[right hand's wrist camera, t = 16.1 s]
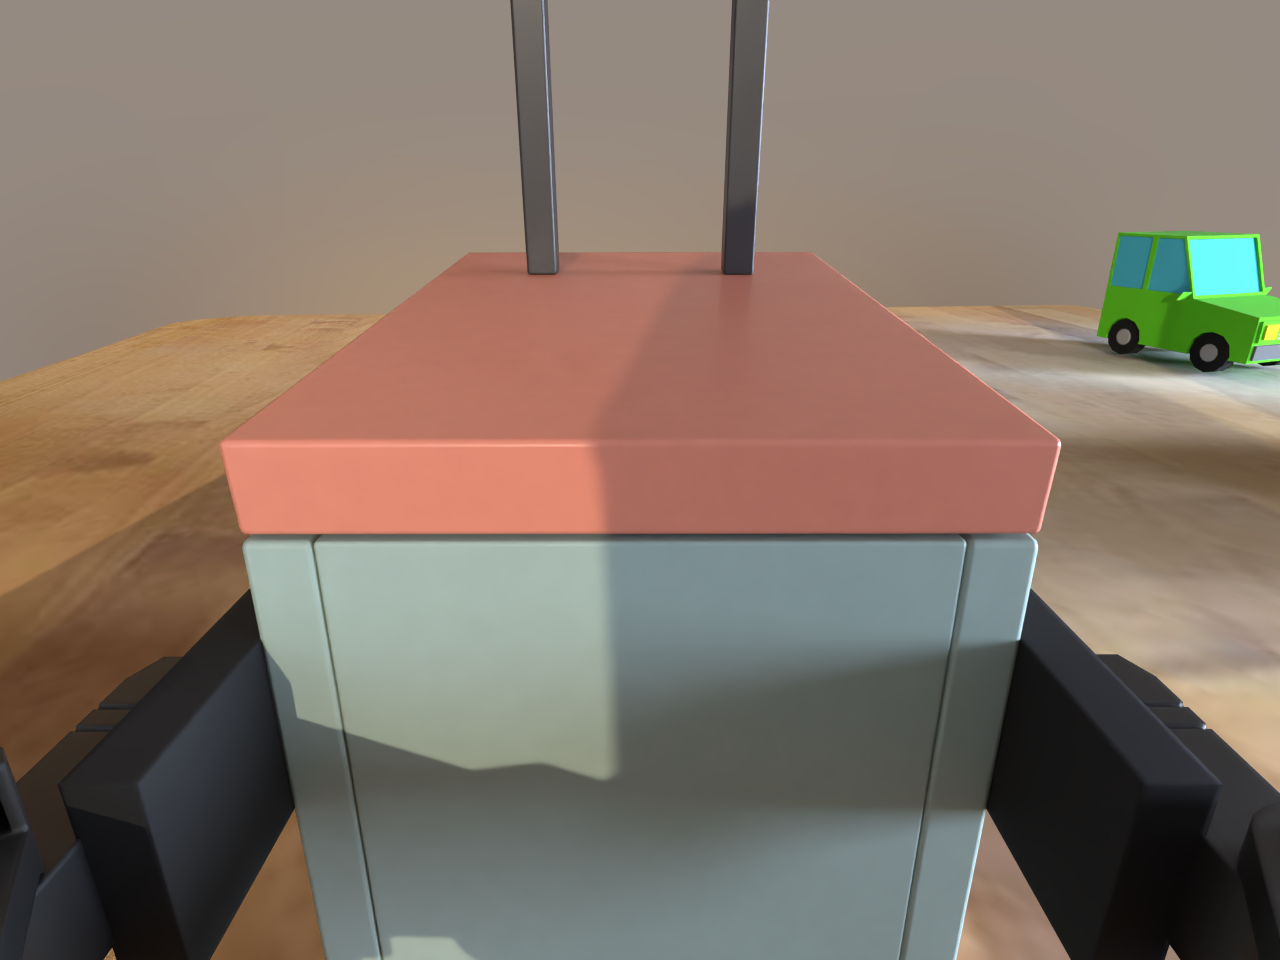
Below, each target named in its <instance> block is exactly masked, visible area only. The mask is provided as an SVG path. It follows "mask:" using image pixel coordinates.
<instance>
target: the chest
mask: <svg viewBox="0 0 1280 960" xmlns="http://www.w3.org/2000/svg"><path fill="white" fill-rule="evenodd" d="M242 550H243V554H244V559H245V564H246V569H247V574H248V579H249V584H250V589H251V594H252V599H253V604H254V609H255V614H256V619H257V623H258V628H259V633H260V638H261V643H262V648H263V653H264V658H265V663H266V668H267V673H268V678H269V683H270V688H271V692H272V697H273V702H274V707H275V712H276V717H277V722H278V727H279V732H280V737H281V742H282V747H283V752H284V756H285V761H286V766H287V771H288V776H289V781H290V786H291V791H292V796H293V801H294V806H295V811H296V816H297V821H298V825H299V830H300V835H301V840H302V845H303V850H304V855H305V860H306V865H307V870H308V875H309V880H310V885H311V889H312V894H313V899H314V904H315V909H316V914H317V919H318V924H319V929H320V934H321V939H322V944H323V949H324V954H325V958H326V960H956V957H957V952H958V947H959V942H960V937H961V932H962V927H963V922H964V917H965V912H966V907H967V902H968V897H969V892H970V887H971V882H972V877H973V872H974V867H975V862H976V857H977V852H978V847H979V842H980V837H981V832H982V827H983V822H984V817H985V812H986V807H987V802H988V797H989V792H990V787H991V782H992V777H993V772H994V767H995V762H996V757H997V752H998V747H999V742H1000V737H1001V732H1002V727H1003V722H1004V717H1005V712H1006V707H1007V702H1008V697H1009V692H1010V687H1011V682H1012V677H1013V672H1014V667H1015V662H1016V657H1017V652H1018V647H1019V642H1020V637H1021V632H1022V627H1023V622H1024V617H1025V612H1026V607H1027V602H1028V597H1029V592H1030V587H1031V582H1032V577H1033V572H1034V567H1035V562H1036V557H1037V552H1038V544H1037V541H1036V540H1035V539H1034V538H1033V537H1032V536H1030V535H1029V534H1028V533H944V534H252V535H251V536H250V537H249V538H248V539H246V540H245V541H244V543H243V549H242Z"/></svg>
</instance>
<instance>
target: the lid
mask: <svg viewBox="0 0 1280 960" xmlns="http://www.w3.org/2000/svg"><path fill="white" fill-rule="evenodd" d="M510 2H511V18H512V34H513V50H514V66H515V82H516V98H517V114H518V130H519V146H520V162H521V178H522V194H523V211H524V227H525V243H526V253H468V254H467V255H465V256H464V257H463V258H461V259H460V260H459V261H457V262H456V263H455V264H453V265H452V266H451V267H450V268H448V269H447V270H446V271H444V272H443V273H442V274H440V275H439V276H438V277H436V278H435V279H434V280H432V281H431V282H430V283H428V284H427V285H426V286H424V287H423V288H422V289H420V290H419V291H418V292H417V293H415V294H414V295H412V296H411V297H410V298H409V299H407V300H406V301H405V302H403V303H402V304H401V305H399V306H398V307H397V308H395V309H394V310H393V311H391V312H390V313H389V314H387V315H386V316H385V317H383V318H382V319H381V320H379V321H378V322H377V323H375V324H374V325H373V326H371V327H370V328H369V329H368V330H366V331H365V332H364V333H362V334H361V335H360V336H358V337H357V338H356V339H354V340H353V341H352V342H350V343H349V344H348V345H346V346H345V347H344V348H342V349H341V350H340V351H338V352H337V353H336V354H334V355H333V356H332V357H330V358H329V359H328V360H327V361H325V362H324V363H323V364H321V365H320V366H319V367H317V368H316V369H315V370H313V371H312V372H311V373H309V374H308V375H307V376H305V377H304V378H303V379H301V380H300V381H299V382H297V383H296V384H295V385H293V386H292V387H291V388H289V389H288V390H287V391H286V392H284V393H283V394H282V395H280V396H279V397H278V398H276V399H275V400H274V401H272V402H271V403H270V404H268V405H267V406H266V407H264V408H263V409H262V410H260V411H259V412H258V413H256V414H255V415H254V416H252V417H251V418H250V419H248V420H247V421H246V422H245V423H243V424H242V425H241V426H239V427H238V428H237V429H235V430H234V431H233V432H231V433H230V434H229V435H227V436H226V437H225V438H223V439H222V440H221V441H220V446H219V448H220V452H221V456H222V460H223V464H224V468H225V472H226V476H227V480H228V484H229V488H230V492H231V496H232V500H233V504H234V508H235V512H236V516H237V520H238V524H239V528H240V530H241V532H242V533H244V534H944V533H1037V532H1039V530H1040V529H1041V525H1042V521H1043V517H1044V513H1045V509H1046V505H1047V501H1048V497H1049V493H1050V489H1051V485H1052V481H1053V477H1054V473H1055V469H1056V465H1057V461H1058V457H1059V453H1060V449H1061V442H1060V439H1058V438H1057V437H1056V436H1054V435H1053V434H1052V433H1050V432H1049V431H1048V430H1046V429H1045V428H1044V427H1042V426H1041V425H1040V424H1038V423H1037V422H1036V421H1034V420H1033V419H1032V418H1030V417H1029V416H1028V415H1026V414H1025V413H1024V412H1022V411H1021V410H1020V409H1019V408H1017V407H1016V406H1015V405H1013V404H1012V403H1011V402H1009V401H1008V400H1007V399H1005V398H1004V397H1003V396H1001V395H1000V394H999V393H997V392H996V391H995V390H993V389H992V388H991V387H989V386H988V385H987V384H985V383H984V382H983V381H981V380H980V379H979V378H977V377H976V376H975V375H974V374H972V373H971V372H970V371H968V370H967V369H966V368H964V367H963V366H962V365H960V364H959V363H958V362H956V361H955V360H954V359H952V358H951V357H950V356H948V355H947V354H946V353H944V352H943V351H942V350H940V349H939V348H938V347H936V346H935V345H934V344H932V343H931V342H930V341H929V340H927V339H926V338H925V337H923V336H922V335H921V334H919V333H918V332H917V331H915V330H914V329H913V328H911V327H910V326H909V325H907V324H906V323H905V322H903V321H902V320H901V319H899V318H898V317H897V316H895V315H894V314H893V313H891V312H890V311H889V310H887V309H886V308H885V307H883V306H882V305H881V304H880V303H878V302H877V301H876V300H874V299H873V298H871V297H870V296H869V295H868V294H866V293H865V292H864V291H862V290H861V289H860V288H858V287H857V286H856V285H854V284H853V283H852V282H850V281H849V280H848V279H846V278H845V277H844V276H842V275H841V274H840V273H838V272H837V271H836V270H835V269H833V268H832V267H831V266H829V265H828V264H827V263H825V262H824V261H822V260H821V259H820V258H819V257H817V256H816V255H815V254H813V253H811V252H755V235H756V218H757V201H758V184H759V168H760V151H761V134H762V117H763V100H764V84H765V67H766V50H767V33H768V17H769V0H732V18H731V42H730V66H729V90H728V113H727V137H726V161H725V184H724V208H723V232H722V252H627V253H626V252H621V253H620V252H618V253H559V248H558V225H557V203H556V181H555V158H554V136H553V114H552V92H551V70H550V47H549V25H548V3H547V0H510Z"/></svg>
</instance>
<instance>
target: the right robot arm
mask: <svg viewBox="0 0 1280 960" xmlns="http://www.w3.org/2000/svg"><path fill="white" fill-rule="evenodd" d="M1205 725H1206V723H1205V722H1203V721H1202V720H1201V719H1200V718H1199V717H1198V716H1197V715H1196V714H1195V713H1194V712H1193V711H1192V710H1191V709H1190V708H1189V707H1183V702H1182V701H1181V700H1180V699H1179V698H1178V697H1177V696H1176V695H1175V694H1174V693H1173V692H1172V691H1171V690H1170V689H1168V688H1167V687H1166V686H1165V685H1164V684H1163V683H1162V682H1161V681H1160V680H1159V679H1158V678H1157V677H1156V676H1154V675H1152V674H1151V673H1149V672H1147V671H1145V670H1144V669H1142V668H1140V667H1138V666H1137V665H1135V664H1133V663H1132V662H1130V661H1128V660H1126V659H1125V658H1123V657H1121V656H1119V655H1118V654H1095V653H1094V652H1093V651H1092V650H1091V649H1090V648H1089V647H1088V646H1087V645H1086V644H1085V643H1084V642H1083V641H1082V640H1081V639H1080V638H1079V637H1078V636H1077V635H1076V634H1075V633H1074V632H1073V631H1072V630H1071V629H1070V628H1069V627H1068V626H1067V625H1066V624H1065V623H1064V622H1063V621H1062V620H1061V619H1060V618H1059V617H1058V616H1057V614H1056V613H1055V612H1054V611H1053V610H1052V609H1051V608H1050V607H1049V606H1048V605H1047V604H1046V603H1045V602H1044V601H1043V600H1042V599H1041V598H1040V597H1039V596H1038V595H1037V594H1036V593H1035V592H1034V591H1033V590H1032V589H1031V588H1030V592H1029V597H1028V602H1027V607H1026V612H1025V617H1024V622H1023V627H1022V632H1021V637H1020V642H1019V647H1018V652H1017V657H1016V662H1015V667H1014V672H1013V677H1012V682H1011V687H1010V692H1009V697H1008V702H1007V707H1006V712H1005V717H1004V722H1003V727H1002V732H1001V737H1000V742H999V747H998V752H997V757H996V762H995V767H994V772H993V777H992V782H991V787H990V792H989V797H988V802H987V807H986V809H987V811H988V812H989V814H990V816H991V818H992V819H993V821H994V823H995V825H996V827H997V828H998V830H999V832H1000V834H1001V836H1002V837H1003V839H1004V841H1005V843H1006V844H1007V846H1008V848H1009V850H1010V852H1011V853H1012V855H1013V857H1014V859H1015V861H1016V862H1017V864H1018V866H1019V868H1020V869H1021V871H1022V873H1023V875H1024V877H1025V878H1026V880H1027V882H1028V884H1029V886H1030V887H1031V889H1032V891H1033V893H1034V895H1035V896H1036V898H1037V900H1038V902H1039V903H1040V905H1041V907H1042V909H1043V911H1044V912H1045V914H1046V916H1047V918H1048V920H1049V921H1050V923H1051V925H1052V927H1053V928H1054V930H1055V932H1056V934H1057V936H1058V937H1059V939H1060V941H1061V943H1062V945H1063V946H1064V948H1065V950H1066V952H1067V953H1068V955H1069V957H1070V959H1071V960H1165V957H1166V954H1167V951H1168V948H1169V945H1171V947H1172V948H1173V950H1174V951H1175V953H1176V954H1177V955H1178V957H1179V958H1180V960H1280V793H1279V792H1278V791H1277V790H1276V789H1275V788H1273V787H1272V786H1271V785H1270V784H1269V783H1268V782H1267V781H1266V780H1265V779H1264V778H1263V777H1262V776H1261V775H1260V774H1259V773H1258V772H1257V771H1255V770H1254V769H1253V768H1252V767H1251V766H1250V765H1249V764H1248V763H1247V762H1246V761H1245V760H1244V759H1243V758H1242V757H1241V756H1240V755H1238V754H1237V753H1236V752H1235V751H1234V750H1233V749H1232V748H1231V747H1230V746H1229V745H1228V744H1227V743H1226V742H1225V741H1224V740H1223V739H1222V738H1220V737H1219V736H1218V735H1217V734H1216V733H1215V732H1214V731H1213V730H1212V729H1207V728H1206V726H1205ZM294 808H295V806H294V801H293V796H292V791H291V786H290V781H289V776H288V771H287V766H286V761H285V756H284V752H283V747H282V742H281V737H280V732H279V727H278V722H277V717H276V712H275V707H274V702H273V697H272V692H271V688H270V683H269V678H268V673H267V668H266V663H265V658H264V653H263V648H262V643H261V638H260V633H259V628H258V623H257V619H256V614H255V609H254V604H253V599H252V594H251V589H249V590H248V591H247V592H246V593H245V594H244V595H243V596H242V597H241V598H240V599H239V600H238V601H237V602H236V603H235V604H234V605H233V606H232V607H231V608H230V609H229V610H228V611H227V612H226V613H225V614H224V615H223V616H222V617H221V618H220V619H219V620H218V622H217V623H216V624H215V625H214V626H213V627H212V628H211V629H210V630H209V631H208V632H207V633H206V634H205V635H204V636H203V637H202V638H201V639H200V640H199V641H198V642H197V643H196V644H195V645H194V646H193V647H192V648H191V649H190V650H189V651H188V652H187V653H186V654H185V655H184V656H183V657H163V658H161V659H160V660H158V661H156V662H154V663H153V664H151V665H149V666H147V667H146V668H144V669H142V670H141V671H139V672H137V673H135V674H134V675H132V676H130V677H128V678H127V679H125V680H124V681H123V682H122V683H121V684H120V685H119V686H118V687H117V688H116V689H115V690H114V691H113V692H112V693H111V694H110V695H109V696H108V697H107V698H105V699H104V700H103V701H102V702H101V703H100V704H99V709H98V710H93V711H92V712H91V713H90V714H89V715H88V716H87V717H85V718H84V719H83V720H82V721H81V722H80V723H79V724H78V725H77V726H76V731H75V732H70V733H69V734H68V735H66V736H65V737H64V738H63V739H62V740H61V741H60V742H59V743H58V744H57V745H56V746H55V747H54V748H53V749H52V750H51V751H50V752H49V753H48V754H46V755H45V756H44V757H43V758H42V759H41V760H40V761H39V762H38V763H37V764H36V765H35V766H34V767H33V768H32V769H31V770H30V771H29V772H28V773H26V774H25V775H24V776H23V777H22V778H21V779H20V780H19V781H18V782H17V783H15V780H14V778H13V775H12V772H11V769H10V766H9V764H8V761H7V758H6V755H5V753H4V750H3V748H2V747H0V960H103V959H104V958H105V957H106V955H107V954H108V952H109V951H110V949H111V948H113V951H114V953H115V956H116V959H117V960H210V959H211V957H212V955H213V953H214V951H215V950H216V948H217V946H218V944H219V942H220V941H221V939H222V937H223V935H224V934H225V932H226V930H227V928H228V926H229V925H230V923H231V921H232V919H233V917H234V916H235V914H236V912H237V910H238V909H239V907H240V905H241V903H242V901H243V900H244V898H245V896H246V894H247V892H248V891H249V889H250V887H251V885H252V883H253V882H254V880H255V878H256V876H257V875H258V873H259V871H260V869H261V867H262V866H263V864H264V862H265V860H266V858H267V857H268V855H269V853H270V851H271V850H272V848H273V846H274V844H275V842H276V841H277V839H278V837H279V835H280V833H281V832H282V830H283V828H284V826H285V825H286V823H287V821H288V819H289V817H290V816H291V814H292V812H293V810H294Z"/></svg>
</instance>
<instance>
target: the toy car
mask: <svg viewBox="0 0 1280 960" xmlns="http://www.w3.org/2000/svg"><path fill="white" fill-rule="evenodd" d="M1271 288H1272V287H1268V288H1265V287H1264V277H1263V267H1262V257H1261V246H1260V237H1259V234H1240V233H1218V232H1197V231H1166V232H1122V233H1118V237H1117V242H1116V247H1115V252H1114V257H1113V261H1112V266H1111V271H1110V276H1109V280H1108V285H1107V290H1106V295H1105V299H1104V304H1103V309H1102V314H1101V318H1100V323H1099V328H1098V333H1097V336H1099V337H1105V338H1108V343H1109V345H1110V347H1111V348H1112V350H1113V351H1115V352H1117V353H1118V354H1128V353H1137V352H1138V351H1140V350H1141V349H1143V348H1144V347H1145V345H1146V346H1151V347H1156V348H1161V349H1166V350H1171V351H1177V352H1182V353H1190V360H1191V362H1192V363H1193V365H1194V367H1195V368H1197V369H1199V370H1201V371H1203V372H1213V371H1223V370H1225V369H1226V368H1228V367H1230V366H1231V365H1233V363H1234V362H1238V363H1244V364H1250V363H1258V364H1260V365H1262V366H1271V365H1280V298H1276V297H1273V296H1269V295H1266V294H1267V293H1268V292H1269V291H1270V290H1271Z"/></svg>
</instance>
